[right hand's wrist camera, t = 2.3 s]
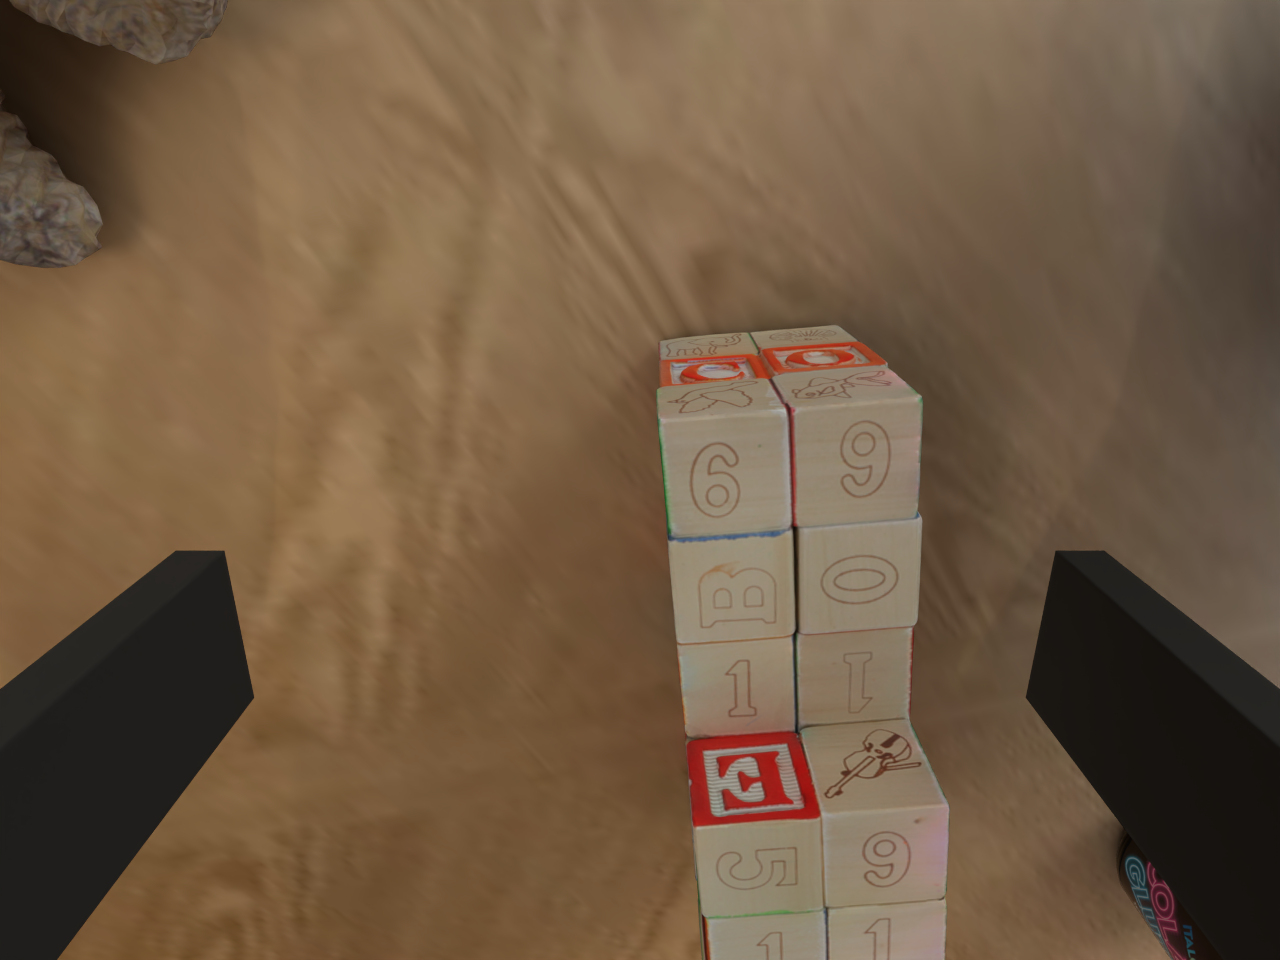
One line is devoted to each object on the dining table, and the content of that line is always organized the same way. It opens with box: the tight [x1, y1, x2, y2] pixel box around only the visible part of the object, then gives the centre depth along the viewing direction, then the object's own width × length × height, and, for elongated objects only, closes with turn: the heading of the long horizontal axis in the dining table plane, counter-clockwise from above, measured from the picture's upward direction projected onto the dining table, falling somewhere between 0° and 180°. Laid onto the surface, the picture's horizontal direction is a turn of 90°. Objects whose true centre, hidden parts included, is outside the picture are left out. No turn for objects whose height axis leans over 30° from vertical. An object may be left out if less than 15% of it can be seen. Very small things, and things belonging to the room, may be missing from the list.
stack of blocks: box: [656, 325, 950, 960], centre depth 25 cm, size 21×6×12 cm, turn 5°
